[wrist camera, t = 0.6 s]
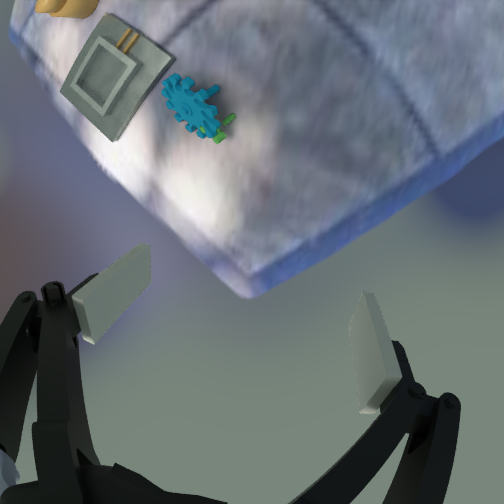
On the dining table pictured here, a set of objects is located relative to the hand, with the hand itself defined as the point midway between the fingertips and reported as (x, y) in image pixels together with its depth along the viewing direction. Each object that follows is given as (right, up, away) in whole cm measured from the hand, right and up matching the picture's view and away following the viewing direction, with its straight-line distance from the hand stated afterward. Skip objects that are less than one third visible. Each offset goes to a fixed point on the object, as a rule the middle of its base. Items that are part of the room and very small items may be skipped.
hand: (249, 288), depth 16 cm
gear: (-6, +22, +17) cm, 28 cm away
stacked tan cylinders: (-27, +43, +7) cm, 51 cm away
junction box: (-21, +29, +15) cm, 39 cm away
